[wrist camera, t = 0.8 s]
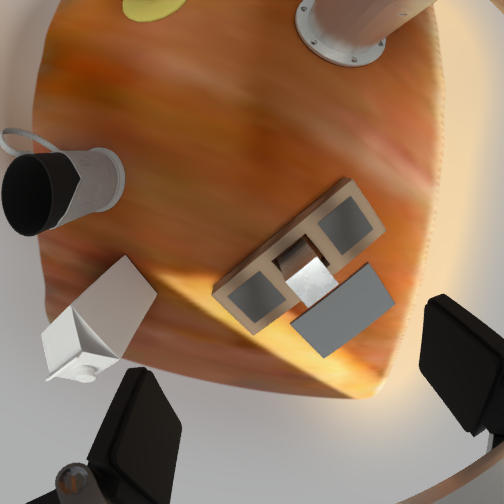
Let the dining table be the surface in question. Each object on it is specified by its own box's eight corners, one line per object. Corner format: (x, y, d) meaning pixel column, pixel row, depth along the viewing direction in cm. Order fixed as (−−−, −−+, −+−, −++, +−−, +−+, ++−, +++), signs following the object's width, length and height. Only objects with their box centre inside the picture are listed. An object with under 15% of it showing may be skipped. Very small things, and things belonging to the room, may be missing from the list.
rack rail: (344, 177, 34) (352, 179, 31) (376, 225, 36) (386, 230, 33) (213, 285, 38) (211, 295, 35) (252, 323, 40) (253, 336, 37)
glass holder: (97, 225, 35) (30, 261, 21) (44, 155, 31) (-29, 162, 17) (137, 180, 33) (75, 195, 19) (79, 109, 30) (7, 94, 16)
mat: (367, 261, 38) (368, 262, 37) (394, 302, 40) (395, 304, 39) (289, 323, 40) (290, 324, 40) (323, 357, 42) (323, 358, 42)
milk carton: (95, 280, 37) (21, 354, 19) (126, 253, 36) (48, 326, 18) (126, 316, 39) (71, 405, 21) (158, 293, 38) (106, 386, 20)
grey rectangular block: (299, 233, 36) (316, 256, 28) (318, 256, 37) (338, 284, 29) (275, 253, 37) (285, 281, 28) (294, 275, 38) (308, 307, 29)
